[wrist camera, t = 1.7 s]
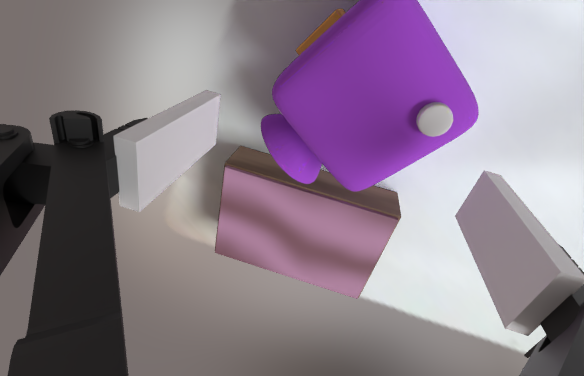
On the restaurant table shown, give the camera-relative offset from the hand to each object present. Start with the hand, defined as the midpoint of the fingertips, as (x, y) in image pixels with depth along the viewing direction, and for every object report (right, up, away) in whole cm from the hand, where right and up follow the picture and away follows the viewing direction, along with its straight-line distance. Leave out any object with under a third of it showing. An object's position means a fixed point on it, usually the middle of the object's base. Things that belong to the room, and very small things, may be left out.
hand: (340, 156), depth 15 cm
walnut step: (-1, -4, +18) cm, 18 cm away
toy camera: (+3, +7, +11) cm, 13 cm away
